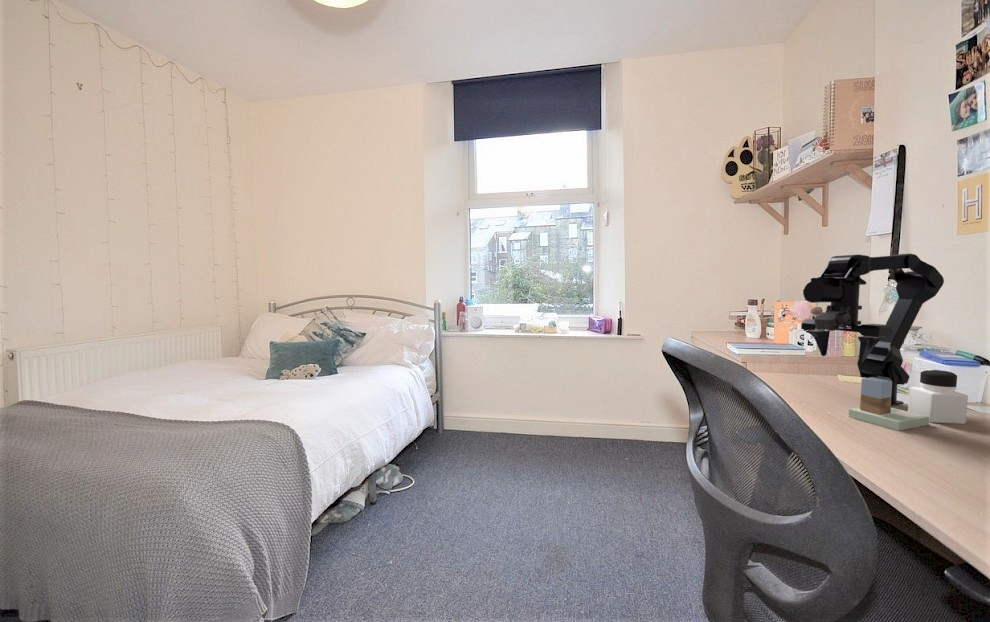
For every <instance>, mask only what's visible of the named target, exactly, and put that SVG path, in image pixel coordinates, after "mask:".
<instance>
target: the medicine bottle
mask: <svg viewBox="0 0 990 622" xmlns="http://www.w3.org/2000/svg"><path fill="white" fill-rule="evenodd" d="M919 375H920V378H919V385H920V386H909V387H908V400H907V401H908V403H907V411H908V412H912V413H916V414H920V415H925V416H929V423H932V424H933V423H934V424H937V423H938V424H951V425H952V424H957V425H965V424H967V414H968V411H967V410H968V398H969V396H968V394H965V393H962V392H958V391H956V390H957V384H958V383H957V382H958V375H957V374H956V373H954V372H952V371H948V370H943V369H924V370H923V369H922V370H921V371H920V374H919Z"/></svg>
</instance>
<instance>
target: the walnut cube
mask: <svg viewBox="0 0 990 622" xmlns="http://www.w3.org/2000/svg"><path fill="white" fill-rule="evenodd" d="M859 406H860V410H862V411H866V412H870V413H873V414H877V415H883V414H888V413H890V411H891V408H892V406H891V397H889V398H882V399H879V398H875V397H870V396H866V395H861V394H860V405H859Z"/></svg>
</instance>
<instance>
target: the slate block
mask: <svg viewBox="0 0 990 622" xmlns="http://www.w3.org/2000/svg"><path fill="white" fill-rule="evenodd" d="M860 387H861V388H860V396H861V395H866V396H870V397H875V398H879V399H882V398H889V397H891V394H892V381H890V380H885V379H879V378H874V377H870V378H861V385H860Z"/></svg>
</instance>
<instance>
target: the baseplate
mask: <svg viewBox="0 0 990 622" xmlns="http://www.w3.org/2000/svg"><path fill="white" fill-rule="evenodd" d="M848 417H849V418H852V419H854V420H857V421H858V420H859V421H863V422H865V423H869V424H872V425H876V426H880V427H884V428H888V429H891V430H895V431H898V432H899V431H904V430H909V429H914V428H920V427H924V426H929V423H930V422H929V416H925V415H920V414H916V413H912V412H908V410H907V411H906V410H903V409H899V408H894V407H891V411H890V413H888V414H883V415H877V414H873V413H870V412H866V411H862V410H860V407H853V408H849V409H848Z"/></svg>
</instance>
